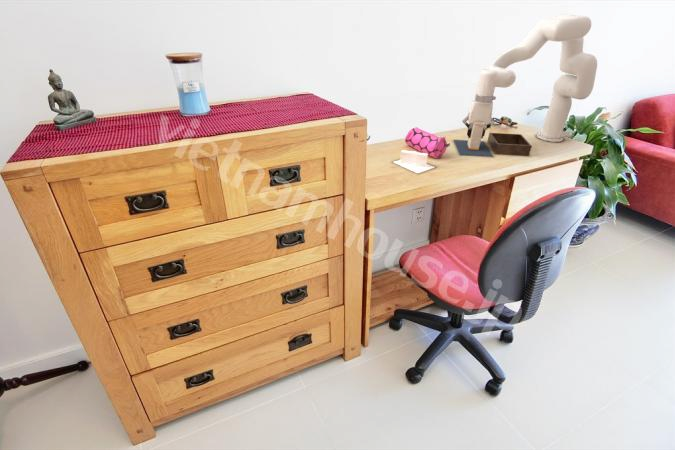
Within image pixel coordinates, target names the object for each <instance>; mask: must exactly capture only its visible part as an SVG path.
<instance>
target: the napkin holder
mask: <svg viewBox="0 0 675 450" xmlns="http://www.w3.org/2000/svg"><path fill="white" fill-rule="evenodd" d="M428 156H429V155H428V154H427V153H423V152H418V150H417V151H416V150H405V149H401V151H400V157H399V159H398V160H395V161H393V162H392V163H394V164H396V165H398V166H399V167H402V168H405V169H406V170H409V171H411V172H413V173H415V174H421V173H423V172H426V171H429V170H432V169H434V168H435V166H433V165H431V164H428V163H427V161H428Z"/></svg>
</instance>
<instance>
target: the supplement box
mask: <svg viewBox="0 0 675 450" xmlns="http://www.w3.org/2000/svg"><path fill="white" fill-rule="evenodd" d="M483 128H484V122H474V124H473V126H472V132H471V137H470V138H469V137H468V139H467V141H468V143H467V145H468V148H469V150H479V146H480V142H481V141H482V138H481V137H482V133H483Z"/></svg>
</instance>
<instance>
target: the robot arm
mask: <svg viewBox="0 0 675 450" xmlns="http://www.w3.org/2000/svg"><path fill="white" fill-rule="evenodd" d="M591 28H592V19H591V18H590V17H588V16H586V15H575V14H559V15H556V16H555V17H543V18H542V19H540V20H539V21H537V23H536V24H535V25H534V26H533V27H532V28H531V30H529V32H528V33H527V34H526V36H524V37H523V39H522V40H521V41H520V42H519V43H518V44H517V45H515V46H514V47H511V48H510V49H509V50H506V51H505V52H503V53H501V54H500V55H499V56H497V58H496V59H495V60H494V61H493V62H492V63H491V64H490V65H489V67H488V68H486V69H482V70H481V71H480V72H479V76H478V81H477V86H476V91H475V95H474V99H473V100H471V103H470V106H469V109H468V113H467V116H465V117H464V119H462V123H463V124H464V125H465V126H466V128H467V131H466V136H467V137H468V139H469V138H470V137H471V132H472V126H473V124H474V122H484V128H483V133H482V137H481V139H483V138H484V137H485V135H486V131H487V130H488V129H489V128H490V127H492V126H494V125H495V124H496V122H495V121H494V119H493V117H492V116H493V108H494V103H493V102H494V100H496V99H497V97H496V96H494V94H495V89H496V88H501V89H502V88H503V89H505V88H509V87H512V85H513V84H514V83H515V82H516V79H517V76H516V73H515V72H514V71H513V70H511V69H508V68H509V66H512V65H514V64H515V63H519V62H523V61H527V60H530V59H532V58H534V57H535V56H536V54H537V53H538V52H539V51H540V50H541V49H542V47H544V45H546V43H547V42H548V41H549V42H550V41H551V42H561V51H560V59H559V70H560V72H562V73H565V74H561V75H560V76H557V78H556V79H555V81H554V83H553V87H552V95H551V99H550V104H549V107H548V110H547V113H546V116H545V119H544V122H543V125H542V129H541V131H540V132H537V134H536V137H537V138H538V139H540V140H542V141H545V142H551V143H559V142H563V141H564V137H572V135H573V133H572V132H568V131H565V129H564V128H565V126H566V122H567V119H568V117H569V114H570V112H571V108H572V103H573V101H572V100H573V99H575V100H579V101H581V100H585V99H587V98H588V97H589V96H590V95H591V94H592V92H593V90H594V86H595V81H596V75H597V69H598V59H597V57H596V56H595V55H593V54H591V53H585V52H584V40H585V39H584V37H585V36H586V35H588V33H589V32H590V31H591ZM467 121H468V122H467Z"/></svg>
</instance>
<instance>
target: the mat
mask: <svg viewBox="0 0 675 450" xmlns="http://www.w3.org/2000/svg"><path fill="white" fill-rule="evenodd" d="M453 141H454V145H455V146H456V149H457V151H458V153H459V155H460V156H471V157H490V158H493V157H494V155H493V153H492V152H491V150H490V149H489V147H488V146H487V144H486V142H485V141H482V140H481V142H480V146H479V150H469V148H468V145H467V143H468V140H466V139H465V140H464V139H462V140H461V139H454V140H453Z"/></svg>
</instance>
